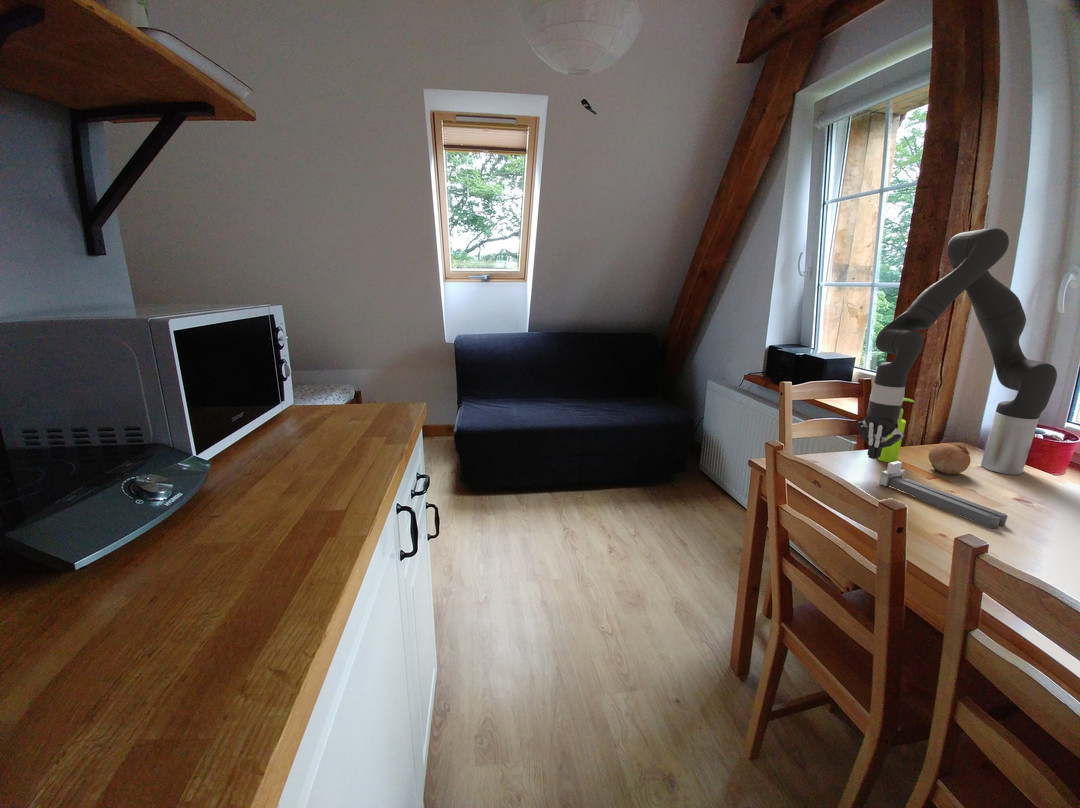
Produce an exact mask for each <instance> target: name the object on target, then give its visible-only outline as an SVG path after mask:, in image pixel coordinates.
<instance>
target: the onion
mask: <svg viewBox="0 0 1080 808" xmlns="http://www.w3.org/2000/svg"><path fill="white" fill-rule="evenodd" d="M970 454H971V453H970V451H969V450H968V448H967V447H966V446H965V445H963V444H961V443H949V442H942V443H937V444H935V445H934V446H933V447H932V448H931V449H930V451H929V452H928V459H929V463H931V467H933V469H934V470H935V472H940V473H943V474H944V475H949V476H950V475H951V476H952V475H959V474H961V473H962V472H965V471H966V470H967V469H968V468H969V466H970V464H971V456H970Z"/></svg>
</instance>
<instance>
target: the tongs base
mask: <svg viewBox="0 0 1080 808" xmlns="http://www.w3.org/2000/svg"><path fill="white" fill-rule="evenodd" d="M888 486H891V487H894V488H896V489H899V490H901V491H904V492H906V493H908V494H911V495H913V496H915V497H917V498H919V499H918V500H920V499H922V500H924V501H923V502H925V501H926V503H927V502H928V504H930V503H931V504H930V505H932V504H933V505H932V506H935V505H936V506H935V507H937V506H938V508H939V509H942V508H943V510H945V511H948V512H950V513H952V512H953V513H952V514H955V513H956V514H955V515H957V514H958V515H957V516H960V515H961V516H960V517H962V516H963V517H962V518H964V517H966V518H965V519H967V518H968V519H967V520H969V519H971V520H970V521H972V520H973V521H972V522H974V521H975V523H977V524H980V525H982V526H985V527H988V528H989V529H992V530H993V529H994V530H996V529H998V527H999V525H1000V524H999V521H1000V518H999V517H997V516H995V515H992V514H990V513H987V512H984V511H982V510H979V509H976V508H974V507H971V506H969V505H966V504H963V503H961V502H958V501H956V500H953V499H950V498H948V497H945V496H942V495H940V494H937V493H935V492H932V491H929V490H927V489H924V488H921V487H919V486H916V485H914V484H911V483H908V482H906V481H903V480H901V476H896V477H892V478H890V480H889V484H888ZM888 486H887V487H888ZM915 497H914V498H915ZM917 498H916V499H917ZM922 500H921V501H922Z"/></svg>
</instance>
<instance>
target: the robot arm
mask: <svg viewBox="0 0 1080 808" xmlns="http://www.w3.org/2000/svg"><path fill="white" fill-rule="evenodd" d="M1009 244H1010V239H1009V235H1008V233H1007V232H1006V231H1005V230H1003V229H1001V228H998V227H994V228H993V227H991V228H982V229H978V230H977V229H976V230H970V231H963V232H960V233H957V234H955V235H953V236H952V237H951V238H950V240H949V241H948V243H947V247H946V254H947V258H948V261H949V263H950V266H951V267H952V269H953V270H952V271H951V272H950V273H948V274H946V275H945V276H944V277H942V278H941V279H939V280H938V281H936V282H935V283H933V284H931V285H930V286H928V287H927V288H925V290H923V291H922V292H921V293H920V294H919V295H918V296H917V297H916V299H915V300H914V301H913V302H912V304H910V306H909V307H907V308H906V309H907V310H905V311H904V312H903V313H901V314H900V315H898V316H897V317H896V318H894V319H893V320H892V321H890V322H889V323H887V324H886V325H885V326H884V327H883V328H881V330H880V331H879V332H878V334H877V336H876V337H875V347H876V349H877V350H878V351H880V352H882V353H886V354H890V355H895V357H894V358H893V359H892V361H891V362H890V361H889V362H888V361H887V362H886V361H885V362H881V363H880V364H878V366H877V368H876V373H875V377H874V381H873V386H872V387H871V391H870V395H869V401H868V405H867V411H866V414H867V415H866V416H865V417H864V420H862V421H857V422H855V426H856V428H857V431H858V432H859V435H860V436H861V439H862V441H864V442H866V443H868V449H867V454H866V455H868V458H869V459H871V460H878V458H879V457H880V456H881V451H882V448H885V447H890V446H892V445H893V444H895V443H896V442H898V441H899V440H901V439H902V440H903V439H904V438H905V437H906V434H905V432H904V433H901V432H900V431H899V430H898V429H897V428H898V424H897V421H898V419H899V416H900V412H901V408H902V406H903V404H904V403H903V402H904V401H903V399H904V398H905V390H906V386H907V385H906V384H907V381H908V380H907V379H908V375H909V373H910V370H911V368H912V367H913V365H914V363H915V361H916V360H917V358H918V356H919V354H920V353H921V352H922V349H923V346H924V337H923V335H922V333H921V332H919V331H920V330H927V329H929V328H931V327H932V325H933V324H934V323H935V322H936V321H937V320H938V319H939V318H940V317H941V315H942V314H944V312H945V311H946V310H947V308H948V307H949V306H950V305H951V304H952V302H954V301H955V300H956V299H957V298H958V297H959V296H960V295H961V294H962V293H963V292H964V291H965V292H966V295H967V297H968V299H969V301H970V303H971V305H972V308H973V311H974V313H975V316H976V319H977V321H978V324H979V326H980V328H981V330H982V332H983V335H984V337H985V340H986V343H987V345H988V348H989V350H990V353H991V357H992V360H993V364H994V369H995V373H996V376H997V379H998V382H999V383H1000V384H1001V386H1003V387H1004V388H1006V389H1010V390H1013V391H1016V392H1017V394H1016V395H1015V397H1014V399H1013V400H1006V401H1000V402H999V403H997V406H996V409H995V412H994V415H993V419H992V423H991V428H990V430H989V433H988V438H987V441H986V445H985V448H984V453H983V456H982V459H981V462H980V465H981V467H982V468H984V469H986V470H989V471H993V472H995V473H1000V474H1004V475H1011V476H1012V475H1013V476H1020V475H1022V474H1023V472H1024V468H1025V465H1026V462H1027V459H1028V456H1029V452H1030V449H1031V446H1032V443H1033V439H1034V437H1035V433H1036V430H1037V426H1038V422H1039V419H1040V417H1041V414H1042V412H1043V411H1044V410H1045V409H1046V408H1047V405H1048V404H1049V401H1050V399H1051V396H1052V393H1053V390H1054V389H1055V386H1056V383H1057V379H1058V372H1057V369H1056V368H1055V366H1054V365H1053V364H1051V363H1048V362H1044V361H1038V360H1034V359H1028V358H1027V357H1026V356H1025V354H1024V352H1023V350H1022V348H1021V345H1020V339H1021V336H1022V334H1023V332H1024V329H1025V327H1026V324H1027V317H1026V314H1025V310H1024V308H1023V305H1022V303H1021V301H1020V299H1019V296H1017V294H1016V293H1014V291H1012V290H1011V289H1010V288H1009V287H1007V286H1006V285H1005V284H1003V283H1002V282H1001V281H999V280H998V279H996V278H995V276H993V275H992V274H991V273H990V271H989V270H990V269H991V268H992V267H994V265H996V264H997V263H998V262H999V261H1000V260H1001V259H1002V258H1003V257H1004V256H1005V254H1006V252H1007V251H1008V248H1009ZM892 432H893V434H892V435H891V436H892V437H891V438H890V439H888V440H887V438H888V435H890V434H891V433H892ZM886 440H887V441H886Z"/></svg>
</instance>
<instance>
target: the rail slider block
mask: <svg viewBox="0 0 1080 808" xmlns="http://www.w3.org/2000/svg"><path fill="white" fill-rule="evenodd" d="M902 465H903V462H902V461H899V460H897V461H895V462H887V468H886V470H881V473H880V476H879V477H880V478H879V482H878V484H879V485H881V486H884V487H886V486H887V487H888V484H889V480H890V478H892V477H896V476H901V480H903V479H905V474H906V469H902V467H903V466H902Z"/></svg>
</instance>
